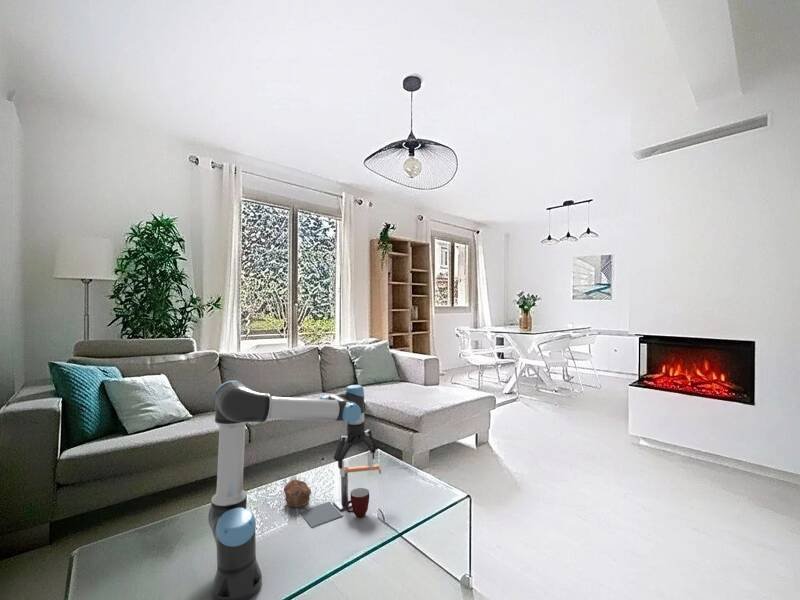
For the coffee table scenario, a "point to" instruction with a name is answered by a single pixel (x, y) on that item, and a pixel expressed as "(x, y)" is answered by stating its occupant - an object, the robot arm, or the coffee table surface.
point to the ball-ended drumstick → (362, 468)
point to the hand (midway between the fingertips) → (356, 471)
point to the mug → (359, 502)
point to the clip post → (343, 495)
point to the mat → (320, 514)
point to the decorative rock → (297, 493)
